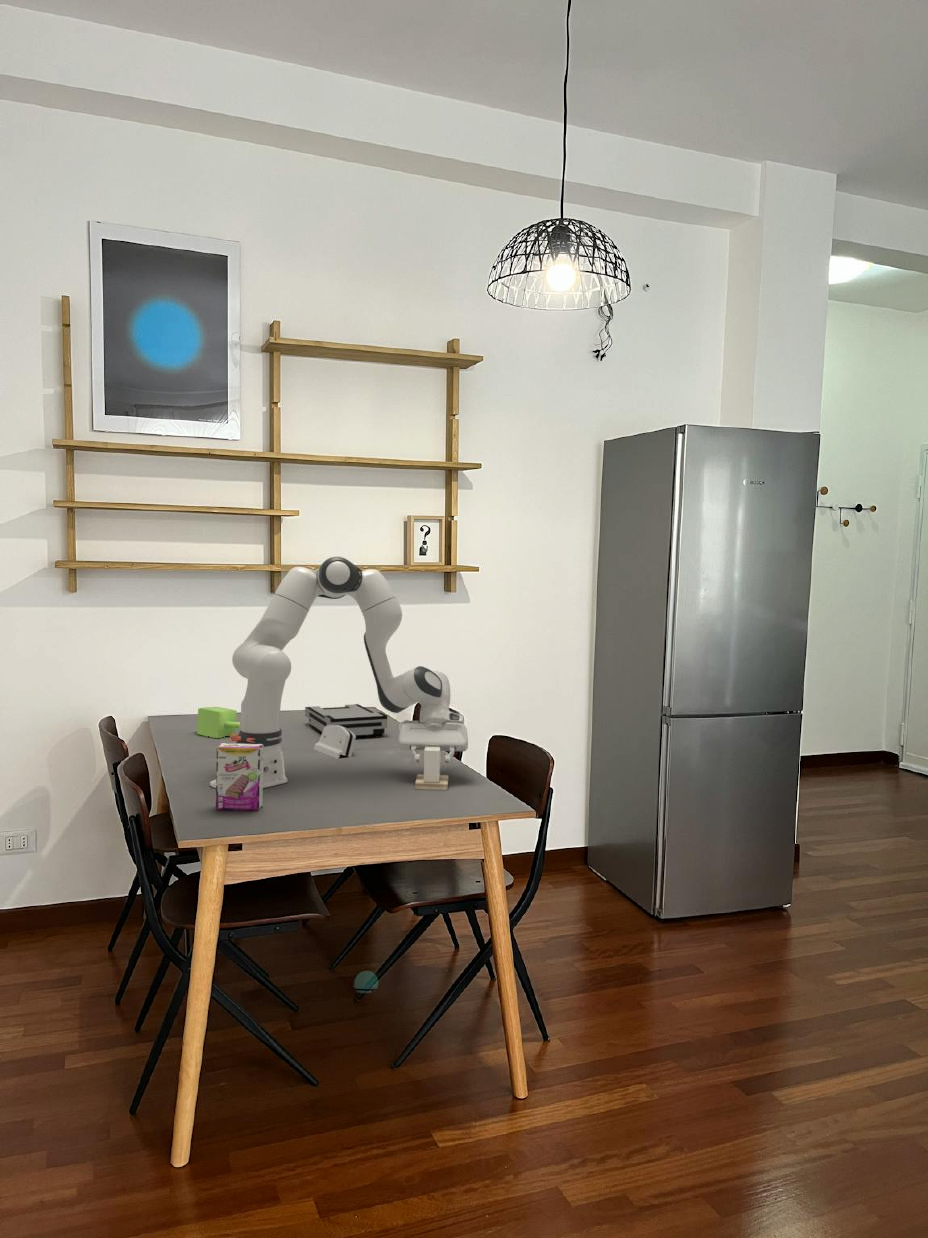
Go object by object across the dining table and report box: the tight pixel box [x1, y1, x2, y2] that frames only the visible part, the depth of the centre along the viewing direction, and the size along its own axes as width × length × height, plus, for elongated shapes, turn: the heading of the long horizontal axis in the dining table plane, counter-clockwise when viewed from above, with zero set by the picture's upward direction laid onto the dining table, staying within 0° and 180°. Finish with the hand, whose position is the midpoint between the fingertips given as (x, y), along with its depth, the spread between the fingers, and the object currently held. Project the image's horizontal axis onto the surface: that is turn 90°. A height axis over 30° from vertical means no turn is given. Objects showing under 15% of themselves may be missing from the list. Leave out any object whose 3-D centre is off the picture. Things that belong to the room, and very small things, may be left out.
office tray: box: [304, 703, 388, 739], centre depth 339 cm, size 21×32×8 cm, turn 25°
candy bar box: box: [215, 742, 264, 811], centre depth 238 cm, size 11×5×16 cm, turn 92°
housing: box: [423, 745, 441, 782], centre depth 266 cm, size 7×4×9 cm, turn 179°
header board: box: [414, 773, 449, 791], centre depth 266 cm, size 11×9×5 cm
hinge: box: [313, 725, 357, 760], centre depth 304 cm, size 17×5×10 cm, turn 37°
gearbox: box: [196, 706, 241, 739], centre depth 327 cm, size 18×10×10 cm, turn 58°
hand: (432, 761), depth 265 cm, fingers open, 7 cm apart
